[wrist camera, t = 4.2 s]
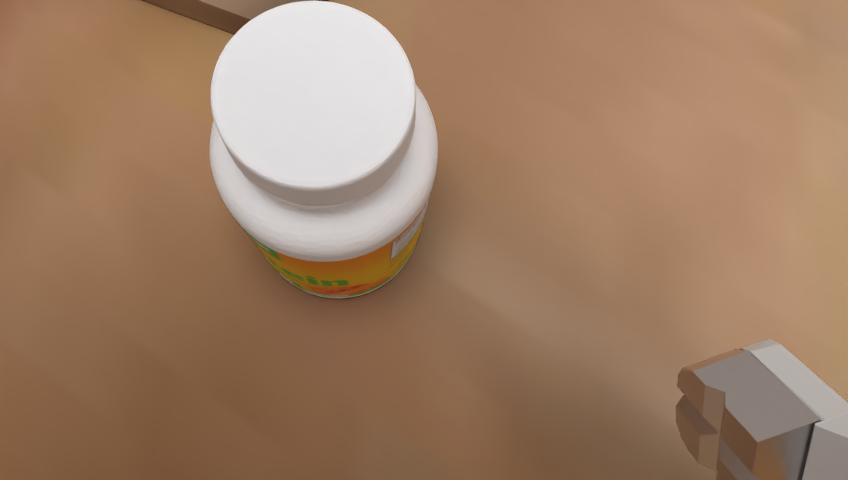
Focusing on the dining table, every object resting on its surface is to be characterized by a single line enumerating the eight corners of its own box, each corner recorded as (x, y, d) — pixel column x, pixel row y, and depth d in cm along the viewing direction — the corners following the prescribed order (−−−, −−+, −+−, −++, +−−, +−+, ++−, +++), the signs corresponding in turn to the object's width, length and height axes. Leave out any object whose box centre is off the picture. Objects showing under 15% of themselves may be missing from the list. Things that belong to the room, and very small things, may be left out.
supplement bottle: (228, 254, 22) (112, 144, 12) (308, 119, 23) (259, -76, 13) (374, 329, 21) (372, 276, 12) (447, 188, 23) (497, 40, 13)
